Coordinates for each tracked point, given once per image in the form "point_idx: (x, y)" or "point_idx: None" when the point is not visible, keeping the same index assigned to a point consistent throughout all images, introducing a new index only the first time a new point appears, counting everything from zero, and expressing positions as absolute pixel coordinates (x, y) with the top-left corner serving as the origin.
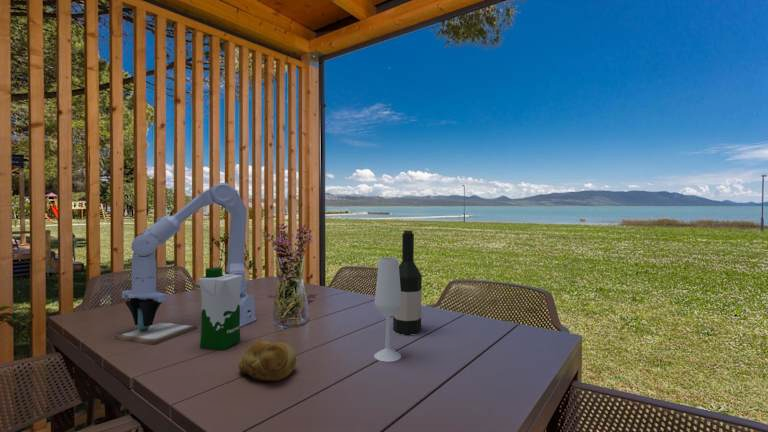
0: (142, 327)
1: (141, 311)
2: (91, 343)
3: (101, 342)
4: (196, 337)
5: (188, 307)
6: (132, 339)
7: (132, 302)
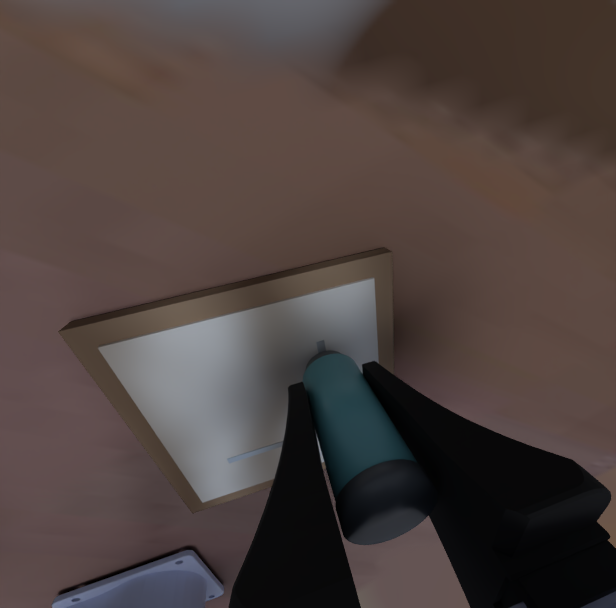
0: (311, 371)
1: (351, 467)
2: (434, 130)
3: (397, 173)
4: (44, 477)
5: None
6: (254, 282)
7: (509, 529)
